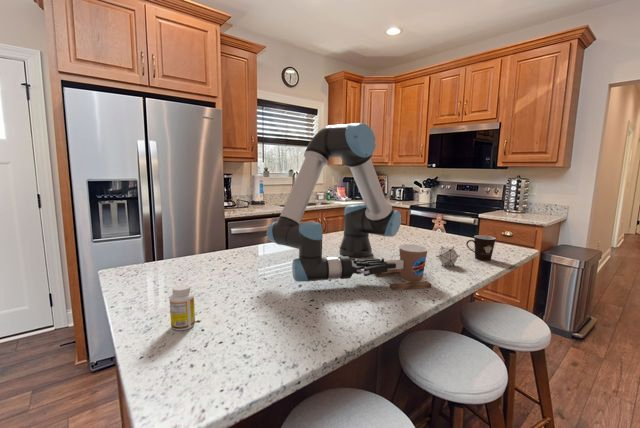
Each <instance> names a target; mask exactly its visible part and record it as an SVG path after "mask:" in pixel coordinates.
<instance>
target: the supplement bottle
mask: <svg viewBox="0 0 640 428" xmlns="http://www.w3.org/2000/svg"><path fill="white" fill-rule="evenodd" d="M171 293H172V294H171V295H170V296H169V310H170V311H169V312H170V327H171V329H173V330H174V331H178V332H179V331H186V330H190V329H191V328H192V327H194V326H195V324H196V317H195V315H196V314H195V313H196V311H195V295H194V293H193V292H191V286H190V285H189V284H178V285H175V286H173V287H172V292H171Z"/></svg>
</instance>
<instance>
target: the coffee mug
mask: <svg viewBox="0 0 640 428" xmlns="http://www.w3.org/2000/svg"><path fill="white" fill-rule="evenodd" d="M473 237H474V239H469V240H467V241H466V244H465V245H466V248H468V249H469V250H470V251H471V252H473V253H474V259H475V260H478V261H481V262H482V261H483V262H490V261H492V256H493V252H494V248H495V244H496V239H497V238H496V237H494V236H491V235H483V234H482V235H481V234H480V235H479V234H478V235H474V236H473ZM470 242H472V243H473V244H474V249H472V248H471V247H469V243H470Z"/></svg>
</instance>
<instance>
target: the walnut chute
mask: <svg viewBox="0 0 640 428" xmlns="http://www.w3.org/2000/svg"><path fill="white" fill-rule="evenodd" d="M373 275H374V276H376V277H387V276H389V275H390V276H400V275H401V269H388V270H387V272H383V273H377V274H373ZM390 276H389V277H390ZM389 288H390V289H392V291H405V290H416V289H418V290H419V289H429V288H432V283H431V282H429V281H427V280H423V281H422V280H421V281H420V282H397V283H396V282H395V283H390V284H389Z"/></svg>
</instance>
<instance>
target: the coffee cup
mask: <svg viewBox="0 0 640 428" xmlns="http://www.w3.org/2000/svg"><path fill="white" fill-rule="evenodd" d="M398 248H399V260H403V261H404V265H403V268H402V269H401V280H402V281H404V282H405V283H407V282H420V281H422V279H423V276H424V272H425V266H426V261H427V255H428V251H429V247H426V246H425V245H422V244H421V245H420V244H414V243H413V244H412V243H411V244H410V243H406V244H399V246H398Z"/></svg>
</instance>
